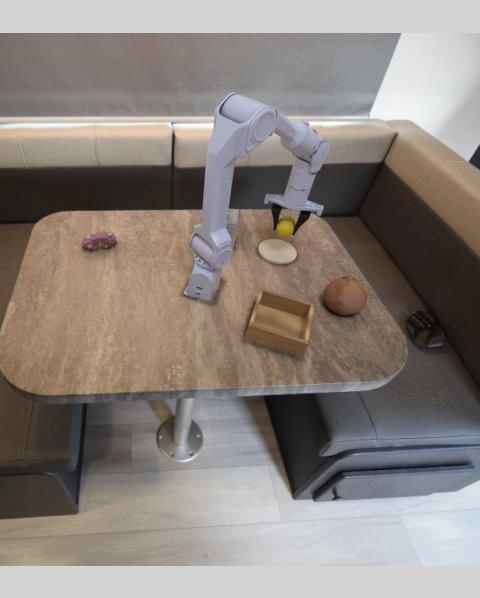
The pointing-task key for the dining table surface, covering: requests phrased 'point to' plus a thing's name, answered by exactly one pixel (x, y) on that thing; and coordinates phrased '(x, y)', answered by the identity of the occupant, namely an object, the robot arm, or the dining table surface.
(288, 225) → the lemon
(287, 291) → the dining table surface
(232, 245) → the medicine box
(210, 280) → the robot arm
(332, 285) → the onion
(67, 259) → the dining table surface
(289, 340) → the crate
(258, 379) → the dining table surface
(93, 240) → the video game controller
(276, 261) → the plate
